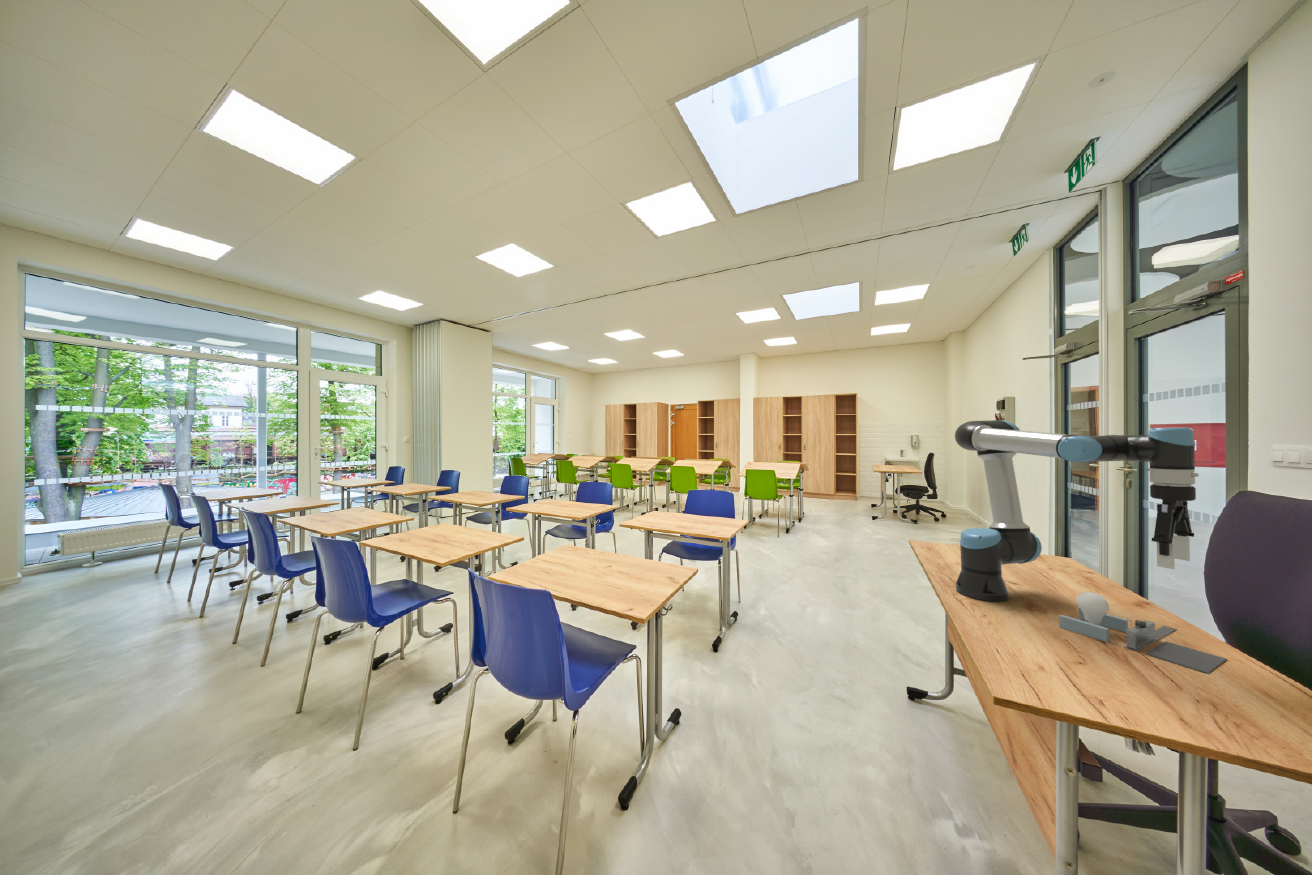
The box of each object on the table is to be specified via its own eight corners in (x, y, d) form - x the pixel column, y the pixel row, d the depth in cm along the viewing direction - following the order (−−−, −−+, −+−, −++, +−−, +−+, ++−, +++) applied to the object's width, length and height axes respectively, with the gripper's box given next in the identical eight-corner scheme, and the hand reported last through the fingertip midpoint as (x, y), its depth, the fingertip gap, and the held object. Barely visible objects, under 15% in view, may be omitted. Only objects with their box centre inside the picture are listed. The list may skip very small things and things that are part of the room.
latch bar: (1125, 646, 109) (1125, 625, 109) (1145, 635, 114) (1144, 615, 114) (1136, 649, 107) (1136, 628, 107) (1156, 639, 112) (1155, 618, 113)
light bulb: (1117, 634, 116) (1116, 596, 116) (1093, 634, 116) (1092, 596, 116) (1092, 624, 123) (1091, 588, 123) (1070, 624, 123) (1069, 588, 123)
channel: (1059, 627, 121) (1058, 615, 121) (1081, 617, 127) (1080, 606, 127) (1106, 642, 112) (1106, 629, 112) (1128, 631, 118) (1127, 619, 118)
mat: (1144, 654, 106) (1144, 652, 106) (1165, 642, 111) (1165, 641, 111) (1207, 673, 96) (1207, 672, 96) (1226, 659, 102) (1226, 658, 102)
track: (1124, 647, 109) (1124, 646, 109) (1164, 626, 120) (1164, 625, 120) (1137, 651, 107) (1137, 650, 107) (1176, 629, 118) (1176, 628, 118)
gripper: (1180, 489, 99) (1182, 575, 99) (1208, 482, 110) (1209, 559, 110) (1134, 486, 105) (1136, 566, 105) (1164, 480, 116) (1166, 553, 116)
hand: (1173, 563), depth 107 cm, fingers open, 13 cm apart
